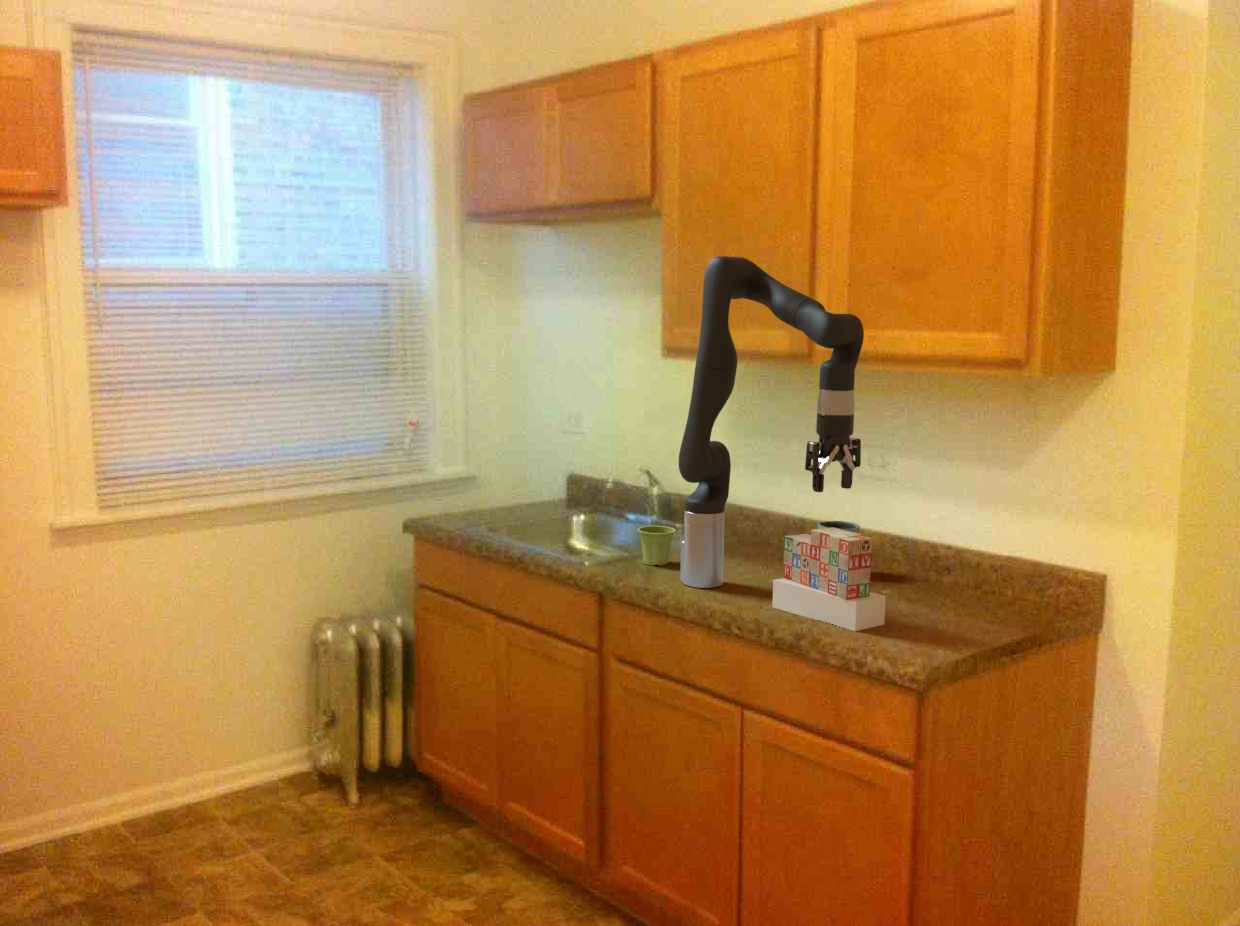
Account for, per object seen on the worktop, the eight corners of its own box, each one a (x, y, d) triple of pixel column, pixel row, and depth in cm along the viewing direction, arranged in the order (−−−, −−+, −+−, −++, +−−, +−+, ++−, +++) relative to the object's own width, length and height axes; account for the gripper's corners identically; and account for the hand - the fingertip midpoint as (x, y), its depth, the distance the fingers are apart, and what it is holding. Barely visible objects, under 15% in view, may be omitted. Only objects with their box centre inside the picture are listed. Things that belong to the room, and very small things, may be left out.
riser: (772, 607, 251) (773, 579, 251) (801, 601, 257) (802, 574, 256) (855, 631, 234) (856, 602, 233) (884, 624, 239) (885, 595, 238)
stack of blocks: (782, 577, 253) (783, 521, 251) (805, 575, 256) (807, 519, 254) (846, 600, 234) (849, 539, 233) (870, 596, 237) (873, 537, 236)
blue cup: (826, 566, 292) (828, 519, 291) (864, 572, 287) (866, 523, 285) (808, 573, 284) (810, 524, 283) (847, 579, 278) (849, 529, 277)
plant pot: (682, 563, 293) (682, 529, 292) (658, 569, 286) (659, 534, 285) (653, 557, 299) (653, 524, 298) (629, 563, 292) (630, 529, 291)
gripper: (844, 408, 247) (841, 484, 249) (797, 411, 238) (794, 490, 240) (872, 411, 241) (869, 489, 243) (825, 415, 232) (822, 495, 234)
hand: (832, 490), depth 242 cm, fingers open, 8 cm apart
